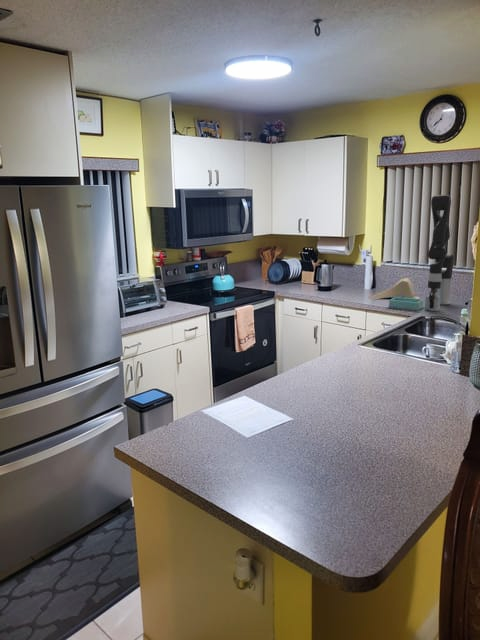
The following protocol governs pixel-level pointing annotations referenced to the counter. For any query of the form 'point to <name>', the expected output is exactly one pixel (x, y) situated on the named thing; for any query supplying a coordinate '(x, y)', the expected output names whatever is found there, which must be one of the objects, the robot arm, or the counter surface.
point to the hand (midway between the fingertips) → (432, 307)
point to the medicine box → (436, 304)
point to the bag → (398, 290)
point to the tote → (406, 303)
